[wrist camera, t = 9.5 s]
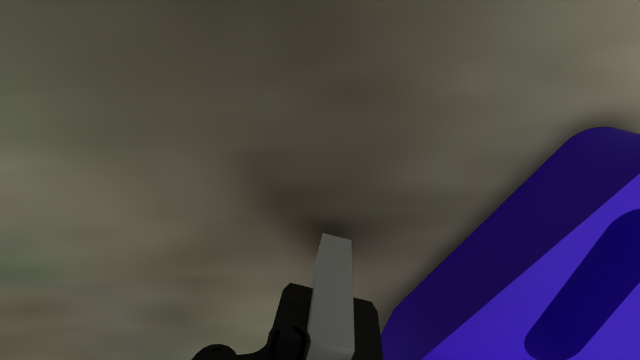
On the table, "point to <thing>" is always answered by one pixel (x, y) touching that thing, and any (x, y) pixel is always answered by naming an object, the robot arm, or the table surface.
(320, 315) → the robot arm
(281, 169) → the table surface
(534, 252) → the bracket
